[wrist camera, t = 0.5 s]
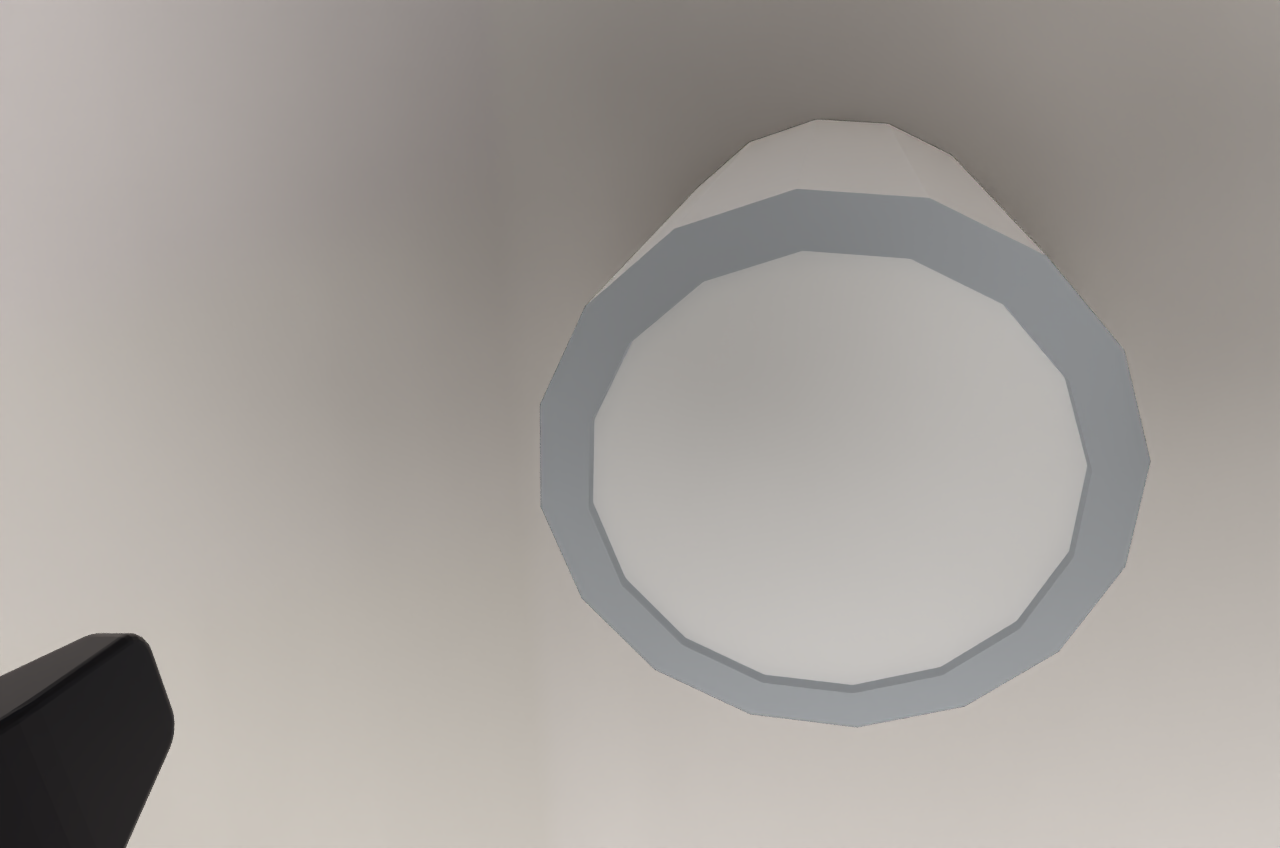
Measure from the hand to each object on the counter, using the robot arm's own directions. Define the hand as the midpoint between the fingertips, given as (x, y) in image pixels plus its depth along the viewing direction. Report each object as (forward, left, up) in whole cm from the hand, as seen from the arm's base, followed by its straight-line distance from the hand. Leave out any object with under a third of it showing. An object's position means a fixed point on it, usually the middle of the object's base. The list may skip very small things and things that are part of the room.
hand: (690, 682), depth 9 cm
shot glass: (-1, +1, -12) cm, 12 cm away
